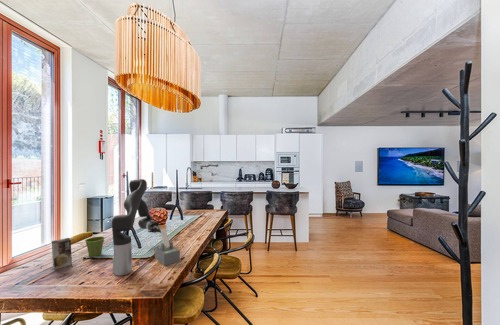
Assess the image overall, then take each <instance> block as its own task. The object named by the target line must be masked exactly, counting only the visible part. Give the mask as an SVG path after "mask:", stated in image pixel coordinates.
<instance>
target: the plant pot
mask: <svg viewBox="0 0 500 325" xmlns="http://www.w3.org/2000/svg"><path fill="white" fill-rule="evenodd" d="M104 239H106V237H105V236H94V237H89V238H86V239H84V242H85V244H86V248H87V252H88V257H91V258H92V257H93V258H95V257H94V256H96V257H98V255H99V256H101V255H102V251H103V244H104V241H105V240H104ZM100 254H101V255H100Z"/></svg>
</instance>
